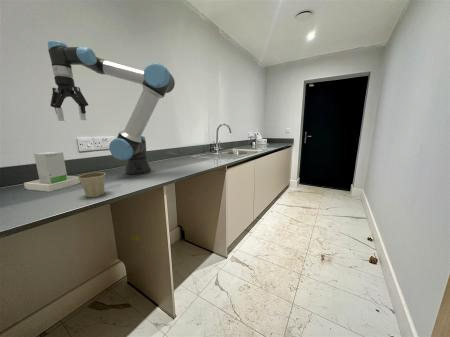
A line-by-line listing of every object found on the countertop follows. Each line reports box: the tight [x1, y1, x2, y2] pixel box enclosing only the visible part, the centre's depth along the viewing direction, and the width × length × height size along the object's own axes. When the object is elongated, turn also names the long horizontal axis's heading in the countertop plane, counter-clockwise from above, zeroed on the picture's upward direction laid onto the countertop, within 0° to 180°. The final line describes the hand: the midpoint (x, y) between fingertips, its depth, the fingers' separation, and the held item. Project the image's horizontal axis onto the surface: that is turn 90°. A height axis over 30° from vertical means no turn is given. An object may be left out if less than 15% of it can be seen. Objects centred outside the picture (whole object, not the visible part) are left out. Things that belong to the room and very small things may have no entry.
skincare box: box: [33, 151, 68, 185], centre depth 85 cm, size 8×7×16 cm
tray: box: [23, 175, 82, 193], centre depth 87 cm, size 15×15×3 cm
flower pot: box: [76, 171, 107, 198], centre depth 74 cm, size 9×9×9 cm
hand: (72, 120), depth 95 cm, fingers open, 13 cm apart
